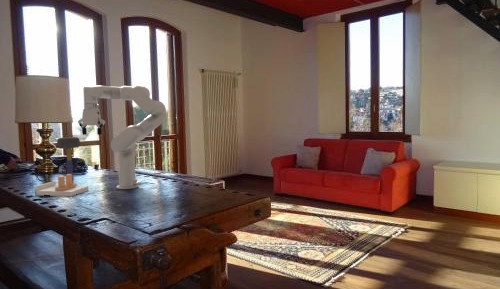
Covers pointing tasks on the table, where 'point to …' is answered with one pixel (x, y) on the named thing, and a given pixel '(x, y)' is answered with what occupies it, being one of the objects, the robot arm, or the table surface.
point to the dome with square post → (61, 184)
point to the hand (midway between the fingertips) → (92, 134)
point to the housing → (50, 190)
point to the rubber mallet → (68, 150)
